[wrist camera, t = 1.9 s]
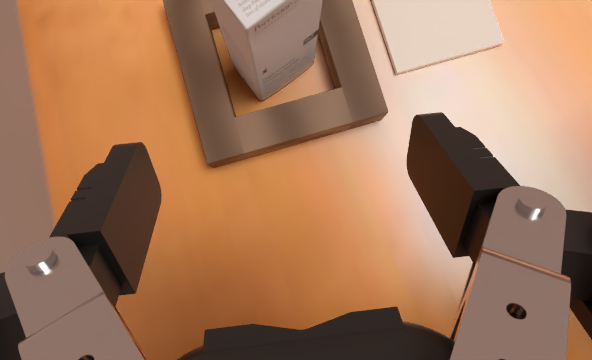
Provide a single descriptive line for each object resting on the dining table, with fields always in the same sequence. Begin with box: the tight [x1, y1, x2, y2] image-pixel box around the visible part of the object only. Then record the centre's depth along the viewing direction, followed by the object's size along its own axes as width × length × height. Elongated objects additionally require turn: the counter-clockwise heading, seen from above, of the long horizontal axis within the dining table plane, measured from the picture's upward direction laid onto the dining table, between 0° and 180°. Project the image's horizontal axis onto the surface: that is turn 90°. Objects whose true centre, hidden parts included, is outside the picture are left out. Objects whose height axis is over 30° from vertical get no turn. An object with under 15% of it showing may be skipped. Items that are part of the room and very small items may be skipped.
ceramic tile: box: [371, 0, 505, 75], centre depth 33 cm, size 10×10×1 cm
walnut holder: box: [163, 0, 388, 168], centre depth 32 cm, size 15×15×2 cm
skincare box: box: [211, 0, 322, 101], centre depth 27 cm, size 6×4×12 cm
